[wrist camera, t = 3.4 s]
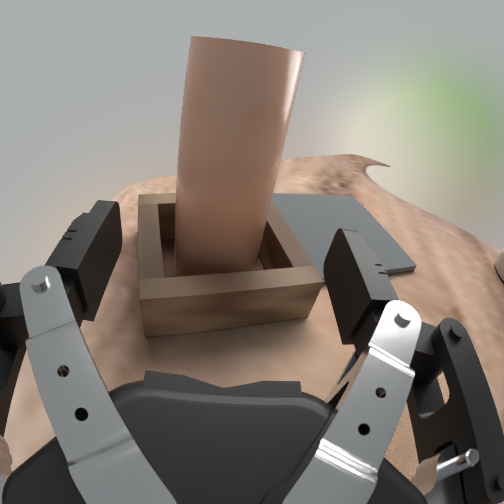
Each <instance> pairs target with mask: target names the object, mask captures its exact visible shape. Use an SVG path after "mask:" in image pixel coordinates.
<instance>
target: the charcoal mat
mask: <svg viewBox="0 0 504 504" xmlns="http://www.w3.org/2000/svg"><path fill="white" fill-rule="evenodd" d="M272 201H273V202H274V204H275V205H276V207H277V208H278V210H279V211H280V213H281V214H282V216H283V217H284V219H285V220H286V222H287V224H288V225H289V227H290V228H291V230H292V231H293V233H294V234H295V236H296V238H297V239H298V241H299V242H300V244H301V245H302V247H303V249H304V250H305V252H306V253H307V255H308V257H309V258H310V260H311V261H312V263H313V265H314V266H315V268H316V269H317V271H318V273H319V274H320V276H321V277H322V279H323V281H324V283H326V281H325V278H324V274H323V266H324V261H325V258H326V255H327V253H328V250H329V248H330V245H331V243H332V240H333V238H334V235H335V233H336V231H337V230H338V229H339V228H343V229H350V230H356V231H359V233H360V234H361V236H362V238H363V240H364V242H365V245H369V246H370V247H371V248H372V249H373V251H374V252H375V253H376V254H377V255H378V257H379V259H380V261H381V263H382V266H383V267H384V269H385V271H386V274H391V273H398V272H405V271H411V270H414V269H415V268H416V266H417V265H416V264H415V263H414V262H413V261H412V260H411V258H410V257H409V256H408V255H407V254H406V253H405V251H404V250H403V249H402V248H401V247H400V246H399V245H398V243H397V242H396V241H395V240H394V239H393V238H392V237H391V236H390V235H389V233H388V232H387V231H386V230H385V229H384V228H383V227H382V226H381V225H380V224H379V223H378V222H377V220H376V219H375V218H374V217H373V216H372V215H371V214H370V213H369V212H368V211H367V210H366V209H365V208H364V207H363V206H362V205H361V204H360V203H359V202H358V201H357V200H356V199H355V198H354V197H353V196H339V195H314V194H273V195H272Z"/></svg>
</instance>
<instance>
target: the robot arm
mask: <svg viewBox="0 0 504 504" xmlns="http://www.w3.org/2000/svg"><path fill="white" fill-rule="evenodd" d="M121 248H122V229H121V219H120V208H119V203H118V202H115V201H102V200H98V201H97V202H96V203H95V205H94V206H93V208H92V209H91V211H90V212H89V213H83V214H82V215H80V216H79V217H77V218H76V219H75V220H74V221H73V222H72V223H71V225H70V226H69V228H68V229H67V232H65V234H64V235H63V237H62V239H61V240H60V242H59V243H58V244H57V246H56V248H55V249H54V251H53V253H52V254H51V256H50V257H49V259H48V261H47V262H46V264H45V266H39V267H36V268H34V269H32V270H30V271H29V272H28V273H26V274H25V276H24V277H23V278H22V280H21V282H20V283H12V284H4V285H2V284H1V282H0V504H498V503H501V502H503V501H504V435H503V431H502V427H501V423H500V420H499V416H498V413H497V410H496V407H495V403H494V400H493V397H492V394H491V391H490V388H489V385H488V383H487V380H486V377H485V374H484V372H483V369H482V366H481V364H480V361H479V359H478V356H477V354H476V351H475V349H474V346H473V344H472V342H471V339H470V337H469V335H468V333H467V331H466V329H465V328H464V327H463V325H462V324H460V323H459V322H458V321H456V320H454V319H452V318H445V319H443V320H442V321H441V322H440V324H439V325H438V326H437V327H436V326H433V325H430V324H427V323H424V322H421V319H420V317H419V315H418V313H417V312H416V311H415V310H414V309H413V308H412V307H411V306H410V305H408V304H407V303H404V302H402V301H399V299H398V297H397V294H396V292H395V290H394V288H393V286H392V284H391V282H390V279H389V277H388V275H386V271H385V269H384V267H383V266H382V263H381V261H380V259H379V257H378V255H377V254H376V253H375V252H374V251H373V249H372V248H371V247H370V246H369V245H365V242H364V240H363V238H362V236H361V234H360V233H359V231H356V230H350V229H343V228H339V229H338V230H337V231H336V233H335V235H334V238H333V240H332V243H331V245H330V248H329V250H328V253H327V255H326V258H325V261H324V266H323V274H324V278H325V281H326V285H327V288H328V292H329V296H330V299H331V303H332V306H333V310H334V314H335V318H336V321H337V325H338V329H339V333H340V337H341V341H342V345H348V344H354V346H355V351H354V352H353V353H352V355H351V357H350V359H349V360H348V362H347V364H346V366H345V368H344V370H343V371H342V373H341V375H340V377H339V378H338V380H337V382H336V384H335V385H334V387H333V389H332V390H331V392H330V393H329V395H328V396H327V397H326V399H325V400H324V401H323V400H321V399H319V398H317V397H315V396H313V395H310V394H307V393H304V392H301V385H300V381H261V382H256V383H250V384H245V385H240V386H234V387H228V388H222V387H218V386H215V385H211V384H208V383H205V382H202V381H199V380H196V379H193V378H190V377H187V376H184V375H177V374H169V373H161V372H154V371H147V370H146V371H145V377H144V381H136V382H131V383H128V384H125V385H122V386H119V387H117V388H115V389H113V390H111V391H110V392H109V391H108V389H107V387H106V385H105V383H104V381H103V379H102V377H101V375H100V373H99V371H98V369H97V367H96V365H95V362H94V360H93V358H92V356H91V354H90V351H89V349H88V347H87V344H86V342H85V340H84V337H83V335H82V332H81V330H80V326H81V323H82V320H88V321H93V322H94V319H95V316H96V313H97V310H98V308H99V305H100V302H101V300H102V297H103V294H104V292H105V289H106V287H107V284H108V281H109V279H110V276H111V274H112V272H113V269H114V267H115V264H116V262H117V259H118V257H119V255H120V252H121ZM495 267H496V270H497V272H498V274H499V276H500V277H501V279H502V280H503V281H504V248H503V250H502V252H501V253H500V255H499V256H498V258H497V259H496V261H495ZM26 349H27V351H28V355H29V359H30V363H31V366H32V370H33V373H34V377H35V380H36V383H37V386H38V389H39V392H40V395H41V398H42V401H43V404H44V407H45V409H46V412H47V415H48V417H49V420H50V422H51V425H52V427H53V430H54V432H55V434H56V436H55V437H54V438H53V439H52V440H51V441H49V442H48V443H47V444H46V445H45V446H43V447H42V448H41V449H40V450H39V451H37V452H36V453H35V454H34V455H32V456H31V457H30V458H29V459H28V460H26V461H25V462H24V463H23V464H22V465H20V466H19V467H18V468H17V469H15V470H14V471H13V472H12V470H11V464H12V457H11V455H10V452H9V447H8V445H7V442H6V441H5V439H4V432H5V427H6V422H7V418H8V413H9V409H10V404H11V400H12V396H13V392H14V389H15V385H16V381H17V378H18V374H19V371H20V368H21V365H22V361H23V358H24V355H25V352H26ZM442 372H444V375H445V378H446V381H447V385H448V388H449V393H450V395H449V399H448V402H447V403H446V404H445V403H444V400H443V396H442V393H441V389H440V386H439V383H438V379H437V377H438V376H439V375H440V374H441V373H442ZM406 401H407V405H408V410H409V414H410V419H411V423H412V428H413V433H414V438H415V444H416V449H417V455H418V461H419V466H418V468H417V470H416V475H414V476H413V477H412V478H411V482H410V481H409V480H408V479H407V478H406V477H405V476H404V475H403V474H402V473H400V472H399V471H398V470H397V469H396V468H395V467H394V466H393V465H392V464H391V463H390V462H389V461H388V460H387V459H385V458H384V455H385V453H386V451H387V449H388V446H389V444H390V442H391V439H392V437H393V435H394V432H395V430H396V427H397V425H398V422H399V419H400V417H401V414H402V411H403V409H404V406H405V403H406Z"/></svg>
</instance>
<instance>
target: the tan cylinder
mask: <svg viewBox="0 0 504 504" xmlns="http://www.w3.org/2000/svg"><path fill="white" fill-rule="evenodd" d="M304 55H305V53H303V52H299V51H295V50H290V49H285V48H281V47H276V46H270V45H265V44H259V43H252V42H246V41H238V40H230V39H221V38H209V37H191V42H190V49H189V56H188V63H187V71H186V79H185V87H184V95H183V105H182V115H181V127H180V137H179V150H178V165H177V166H178V167H177V182H176V204H175V238H174V273H175V277H180V276H194V275H207V274H221V273H233V272H246V271H255V267H256V263H257V259H258V255H259V250H260V246H261V242H262V238H263V233H264V229H265V225H266V221H267V216H268V212H269V208H270V204H271V199H272V195H273V191H274V186H275V182H276V178H277V174H278V169H279V165H280V161H281V156H282V152H283V148H284V143H285V138H286V134H287V130H288V126H289V122H290V117H291V112H292V108H293V104H294V99H295V95H296V91H297V86H298V82H299V78H300V73H301V68H302V64H303V60H304Z"/></svg>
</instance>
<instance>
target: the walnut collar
mask: <svg viewBox="0 0 504 504" xmlns="http://www.w3.org/2000/svg"><path fill="white" fill-rule="evenodd" d="M175 204H176V193H171V194H145V195H139V196H138V276H139V298H140V306H141V313H142V319H143V326H144V332H145V337H152V336H164V335H175V334H186V333H195V332H205V331H213V330H222V329H230V328H238V327H245V326H252V325H259V324H266V323H273V322H280V321H286V320H292V319H298V318H304V317H308V316H309V313H310V311H311V309H312V307H313V305H314V303H315V301H316V298H317V296H318V294H319V292H320V290H321V287H322V285H323V283H324V281H323V279H322V277H321V276H320V274H319V273H318V271H317V269H316V268H315V266H314V265H313V263H312V261H311V260H310V258H309V257H308V255H307V253H306V252H305V250H304V249H303V247H302V245H301V244H300V242H299V241H298V239H297V238H296V236H295V234H294V233H293V231H292V230H291V228H290V227H289V225H288V224H287V222H286V220H285V219H284V217H283V216H282V214H281V213H280V211H279V210H278V208H277V207H276V205H275V204H274V202H273V201H272V199H271V204H270V208H269V212H268V216H267V221H266V225H265V229H264V233H263V238H262V242H261V246H260V250H259V257H260V259H261V262H262V264H263V266H264V268H265V270H258V271H246V272H233V273H221V274H207V275H194V276H180V277H166V278H165V276H164V268H163V259H162V250H161V240H165V239H174V238H175Z"/></svg>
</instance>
